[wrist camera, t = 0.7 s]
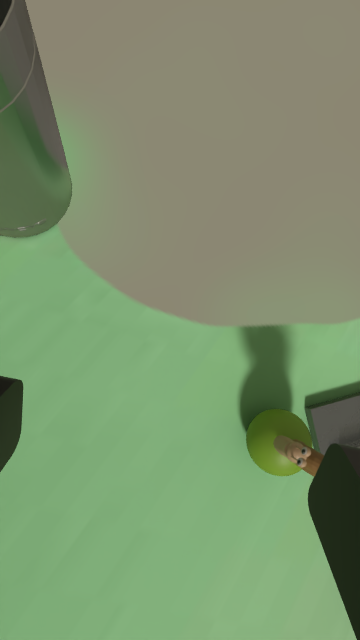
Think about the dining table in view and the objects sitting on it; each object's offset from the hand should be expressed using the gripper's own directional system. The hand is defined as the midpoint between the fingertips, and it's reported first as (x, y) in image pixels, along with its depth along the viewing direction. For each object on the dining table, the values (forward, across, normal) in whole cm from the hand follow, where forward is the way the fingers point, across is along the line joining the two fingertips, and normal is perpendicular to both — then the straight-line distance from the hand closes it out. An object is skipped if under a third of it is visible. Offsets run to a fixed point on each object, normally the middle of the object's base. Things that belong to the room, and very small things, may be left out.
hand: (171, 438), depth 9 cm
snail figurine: (+19, -10, +13) cm, 25 cm away
